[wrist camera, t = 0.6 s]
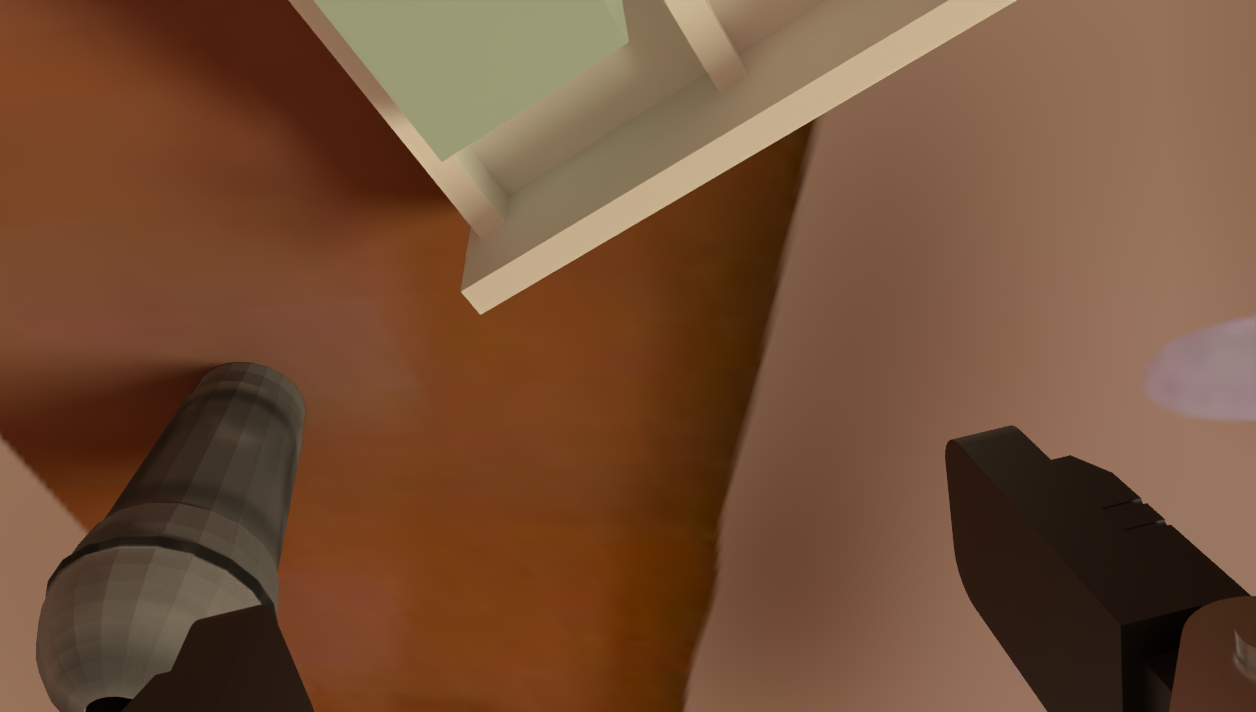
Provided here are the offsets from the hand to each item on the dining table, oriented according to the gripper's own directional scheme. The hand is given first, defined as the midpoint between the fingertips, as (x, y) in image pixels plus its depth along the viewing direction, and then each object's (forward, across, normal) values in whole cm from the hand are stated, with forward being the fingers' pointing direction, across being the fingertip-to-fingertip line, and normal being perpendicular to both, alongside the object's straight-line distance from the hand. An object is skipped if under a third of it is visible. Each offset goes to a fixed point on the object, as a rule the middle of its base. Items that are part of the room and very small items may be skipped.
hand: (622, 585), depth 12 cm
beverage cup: (+31, +14, +8) cm, 35 cm away
